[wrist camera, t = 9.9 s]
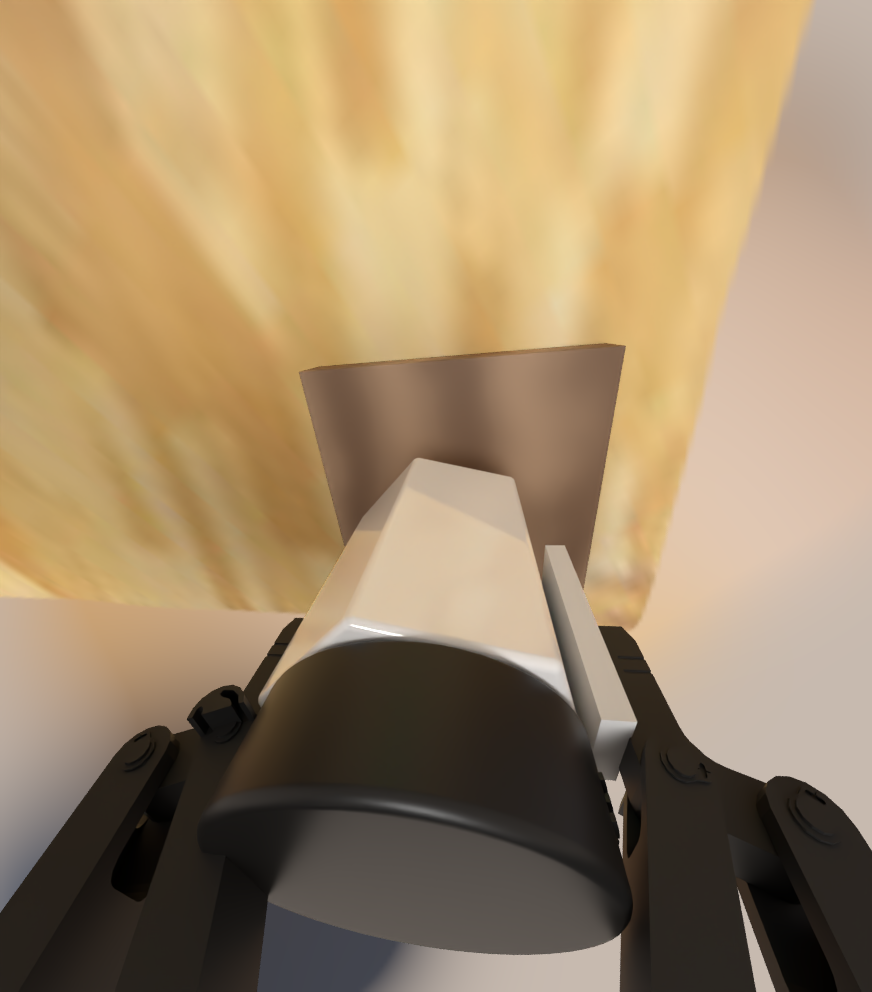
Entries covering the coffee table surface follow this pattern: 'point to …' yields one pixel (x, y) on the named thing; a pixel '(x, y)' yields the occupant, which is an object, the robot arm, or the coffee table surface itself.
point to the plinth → (475, 430)
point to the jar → (428, 743)
